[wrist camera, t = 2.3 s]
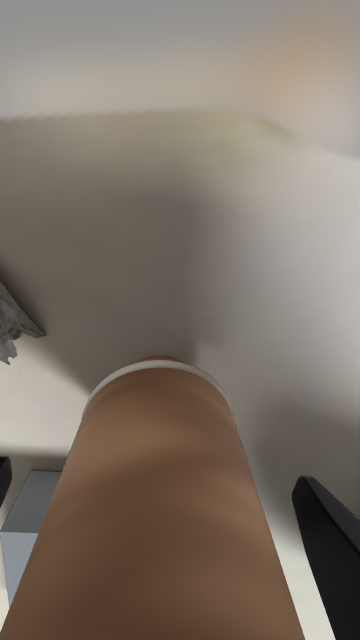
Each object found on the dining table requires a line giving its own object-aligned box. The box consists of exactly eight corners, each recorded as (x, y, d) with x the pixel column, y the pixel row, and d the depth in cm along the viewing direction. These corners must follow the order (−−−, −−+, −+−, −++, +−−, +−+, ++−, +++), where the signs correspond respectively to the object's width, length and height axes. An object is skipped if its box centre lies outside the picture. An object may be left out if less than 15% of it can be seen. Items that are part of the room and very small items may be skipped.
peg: (231, 337, 12) (426, 719, 3) (207, 435, 14) (284, 843, 5) (101, 321, 12) (-120, 735, 3) (96, 426, 14) (-39, 867, 5)
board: (253, 483, 16) (271, 542, 13) (212, 602, 20) (219, 665, 18) (30, 470, 15) (0, 531, 12) (38, 599, 19) (17, 666, 16)
